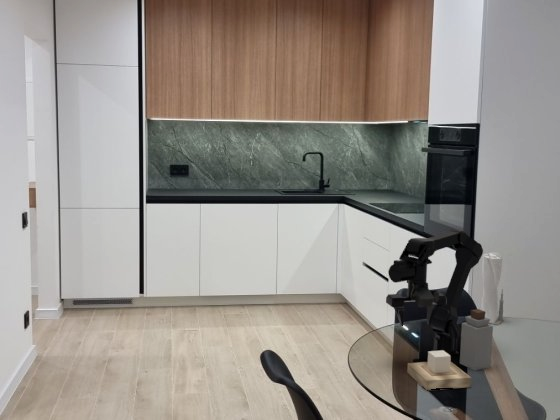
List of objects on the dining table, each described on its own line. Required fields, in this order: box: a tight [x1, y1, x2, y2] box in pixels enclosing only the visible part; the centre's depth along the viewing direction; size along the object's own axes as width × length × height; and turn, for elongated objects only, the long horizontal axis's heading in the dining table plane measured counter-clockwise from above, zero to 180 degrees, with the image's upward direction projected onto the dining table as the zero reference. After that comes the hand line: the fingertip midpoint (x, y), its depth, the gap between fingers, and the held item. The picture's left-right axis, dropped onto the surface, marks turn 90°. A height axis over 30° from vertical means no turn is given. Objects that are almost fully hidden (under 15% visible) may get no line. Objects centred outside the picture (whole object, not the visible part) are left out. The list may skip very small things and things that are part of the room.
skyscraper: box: [480, 252, 504, 326], centre depth 261 cm, size 8×8×28 cm
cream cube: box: [427, 350, 452, 373], centre depth 205 cm, size 5×5×5 cm
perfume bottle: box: [459, 308, 494, 371], centre depth 217 cm, size 7×7×18 cm
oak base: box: [406, 361, 472, 391], centre depth 205 cm, size 14×14×3 cm
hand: (415, 325), depth 219 cm, fingers open, 9 cm apart
